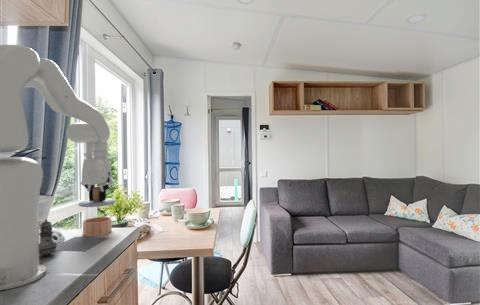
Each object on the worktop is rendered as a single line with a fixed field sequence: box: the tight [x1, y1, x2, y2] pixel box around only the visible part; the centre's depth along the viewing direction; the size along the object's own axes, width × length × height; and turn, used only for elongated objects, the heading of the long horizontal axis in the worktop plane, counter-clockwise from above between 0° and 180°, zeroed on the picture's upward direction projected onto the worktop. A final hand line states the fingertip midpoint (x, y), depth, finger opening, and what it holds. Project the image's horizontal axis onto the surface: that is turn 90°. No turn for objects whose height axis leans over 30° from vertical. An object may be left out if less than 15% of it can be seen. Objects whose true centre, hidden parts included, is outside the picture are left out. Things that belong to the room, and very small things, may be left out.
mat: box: [54, 236, 111, 253], centre depth 94 cm, size 14×14×1 cm
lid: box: [78, 185, 116, 208], centre depth 107 cm, size 13×13×7 cm
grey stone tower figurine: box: [39, 218, 59, 259], centre depth 83 cm, size 6×6×12 cm
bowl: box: [82, 216, 112, 237], centre depth 107 cm, size 10×10×6 cm
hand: (97, 200), depth 107 cm, fingers closed on lid, 3 cm apart
